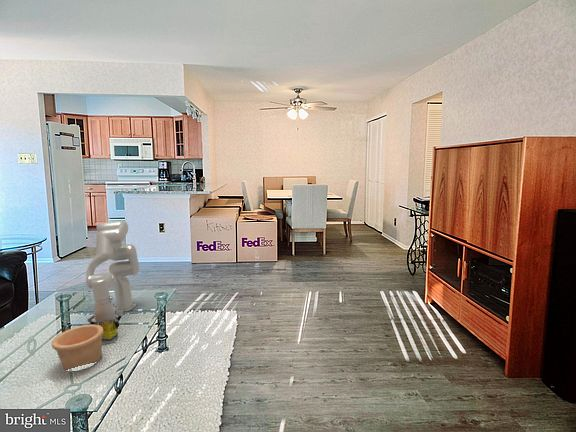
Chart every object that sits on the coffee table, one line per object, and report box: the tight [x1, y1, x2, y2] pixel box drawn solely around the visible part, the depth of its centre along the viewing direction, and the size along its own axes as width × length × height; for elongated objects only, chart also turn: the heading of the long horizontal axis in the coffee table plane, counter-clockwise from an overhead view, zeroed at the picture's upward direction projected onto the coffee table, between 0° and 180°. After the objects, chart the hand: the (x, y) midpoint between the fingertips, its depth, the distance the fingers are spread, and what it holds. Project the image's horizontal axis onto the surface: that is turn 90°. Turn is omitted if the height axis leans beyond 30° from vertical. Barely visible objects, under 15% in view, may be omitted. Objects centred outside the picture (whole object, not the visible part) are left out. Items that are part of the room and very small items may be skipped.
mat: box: [102, 331, 119, 346], centre depth 196 cm, size 12×20×1 cm, turn 111°
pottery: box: [51, 324, 104, 371], centre depth 176 cm, size 22×22×14 cm
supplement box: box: [98, 320, 118, 341], centre depth 198 cm, size 6×6×11 cm
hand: (107, 329), depth 197 cm, fingers open, 9 cm apart
